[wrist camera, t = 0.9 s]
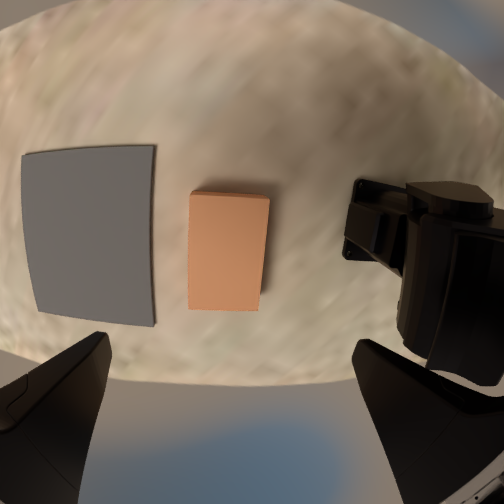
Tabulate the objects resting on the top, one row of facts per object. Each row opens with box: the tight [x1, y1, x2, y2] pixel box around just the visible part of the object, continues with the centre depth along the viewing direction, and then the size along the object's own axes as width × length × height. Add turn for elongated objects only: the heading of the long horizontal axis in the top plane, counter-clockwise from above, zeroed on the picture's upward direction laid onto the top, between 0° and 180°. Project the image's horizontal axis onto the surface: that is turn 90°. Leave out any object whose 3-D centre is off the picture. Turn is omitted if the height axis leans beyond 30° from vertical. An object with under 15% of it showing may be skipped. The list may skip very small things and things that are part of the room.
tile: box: [188, 191, 270, 311], centre depth 19 cm, size 5×8×2 cm, turn 175°
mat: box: [21, 146, 155, 327], centre depth 18 cm, size 12×14×1 cm
